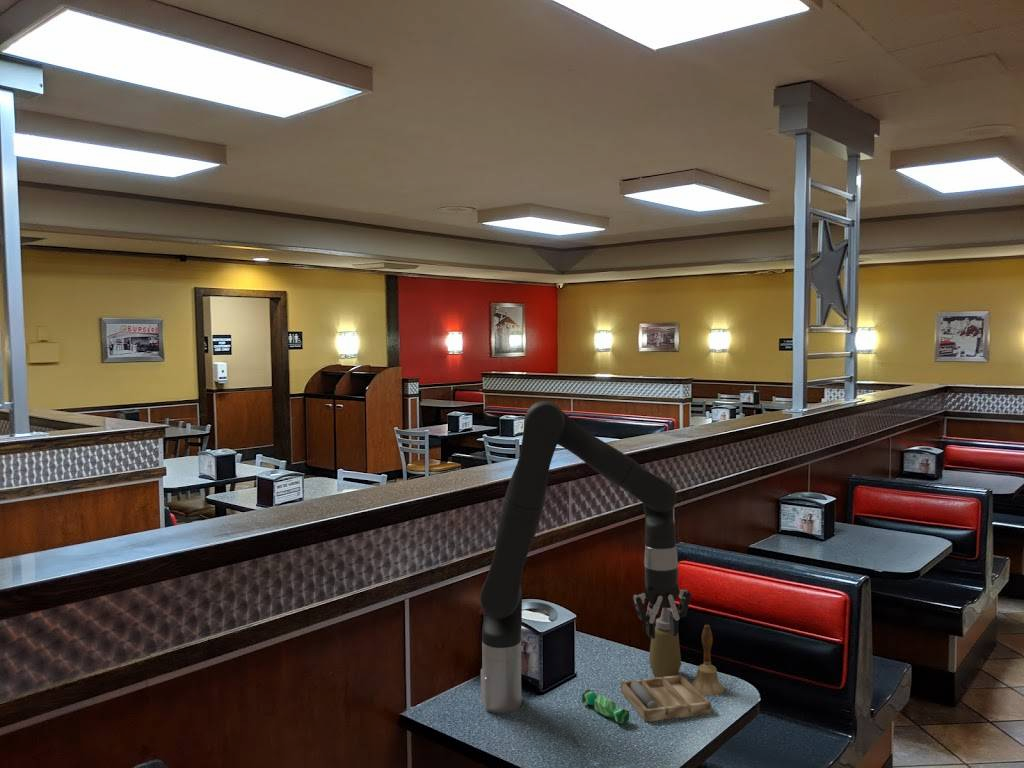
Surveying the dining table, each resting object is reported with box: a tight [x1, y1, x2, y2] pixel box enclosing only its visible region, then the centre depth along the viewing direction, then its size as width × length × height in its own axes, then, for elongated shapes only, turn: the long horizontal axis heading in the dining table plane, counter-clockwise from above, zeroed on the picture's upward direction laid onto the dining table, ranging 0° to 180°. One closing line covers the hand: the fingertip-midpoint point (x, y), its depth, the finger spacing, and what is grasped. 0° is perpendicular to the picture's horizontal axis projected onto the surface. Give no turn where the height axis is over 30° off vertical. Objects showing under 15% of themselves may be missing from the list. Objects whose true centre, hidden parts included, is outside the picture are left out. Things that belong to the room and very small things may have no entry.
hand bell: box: [690, 624, 725, 696], centre depth 182 cm, size 8×8×16 cm
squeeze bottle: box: [648, 608, 682, 678], centre depth 189 cm, size 8×8×18 cm
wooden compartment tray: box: [620, 674, 712, 723], centre depth 175 cm, size 16×15×2 cm
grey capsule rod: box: [631, 681, 658, 709], centre depth 174 cm, size 2×12×2 cm, turn 13°
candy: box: [581, 688, 630, 726], centre depth 170 cm, size 12×3×4 cm, turn 36°
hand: (662, 635), depth 174 cm, fingers open, 4 cm apart
